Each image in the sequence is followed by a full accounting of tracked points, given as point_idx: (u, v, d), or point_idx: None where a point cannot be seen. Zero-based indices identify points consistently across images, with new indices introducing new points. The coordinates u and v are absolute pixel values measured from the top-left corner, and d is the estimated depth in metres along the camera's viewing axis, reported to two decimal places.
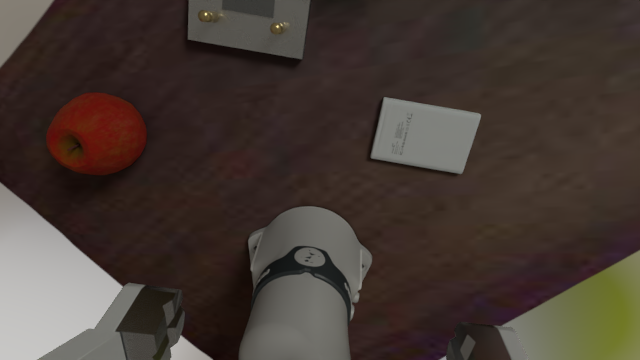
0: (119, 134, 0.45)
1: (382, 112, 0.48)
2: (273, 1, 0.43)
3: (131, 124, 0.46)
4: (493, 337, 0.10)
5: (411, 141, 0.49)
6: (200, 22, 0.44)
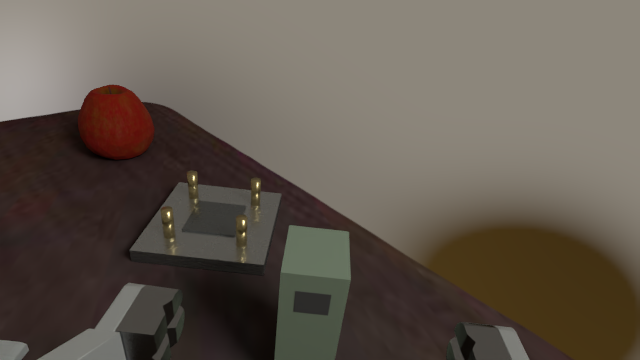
0: (109, 120, 0.53)
1: (1, 341, 0.29)
2: (197, 230, 0.42)
3: (116, 136, 0.54)
4: (493, 337, 0.10)
5: None
6: None
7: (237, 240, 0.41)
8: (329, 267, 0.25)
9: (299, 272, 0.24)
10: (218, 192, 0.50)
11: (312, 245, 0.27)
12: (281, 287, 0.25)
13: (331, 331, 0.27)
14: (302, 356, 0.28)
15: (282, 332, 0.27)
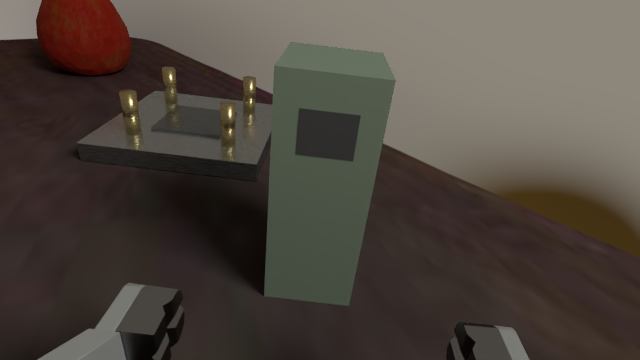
0: (72, 20, 0.43)
1: None
2: (171, 129, 0.32)
3: (81, 41, 0.44)
4: (493, 337, 0.10)
5: None
6: None
7: (222, 137, 0.31)
8: (358, 69, 0.15)
9: (306, 69, 0.14)
10: (203, 101, 0.40)
11: (327, 55, 0.16)
12: (275, 100, 0.14)
13: (356, 194, 0.16)
14: (309, 244, 0.18)
15: (278, 198, 0.17)
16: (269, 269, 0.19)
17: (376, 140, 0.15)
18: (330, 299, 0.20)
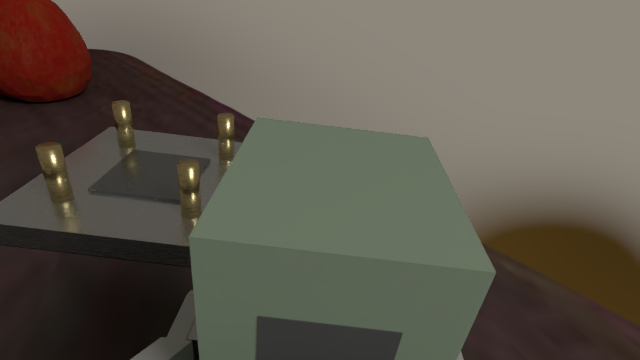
0: (11, 36, 0.35)
1: None
2: (115, 190, 0.24)
3: (23, 62, 0.36)
4: None
5: None
6: None
7: (182, 207, 0.22)
8: (395, 222, 0.06)
9: (272, 239, 0.06)
10: (169, 141, 0.31)
11: (324, 160, 0.08)
12: (201, 302, 0.06)
13: None
14: None
15: None
16: None
17: None
18: None
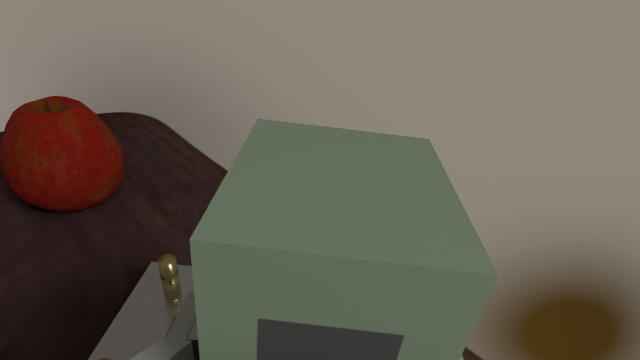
0: (43, 156, 0.33)
1: None
2: None
3: (57, 180, 0.34)
4: None
5: None
6: None
7: None
8: (396, 225, 0.06)
9: (273, 241, 0.06)
10: None
11: (325, 161, 0.08)
12: (202, 304, 0.06)
13: None
14: None
15: None
16: None
17: None
18: None
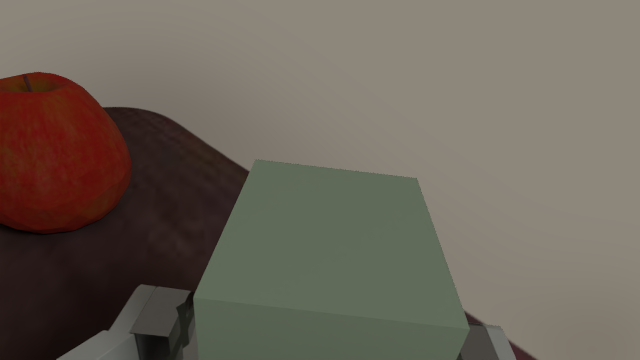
0: (19, 154, 0.23)
1: None
2: None
3: (38, 188, 0.24)
4: (480, 336, 0.10)
5: None
6: None
7: None
8: (381, 277, 0.07)
9: (268, 297, 0.06)
10: None
11: (317, 207, 0.09)
12: (204, 351, 0.07)
13: None
14: None
15: None
16: None
17: None
18: None
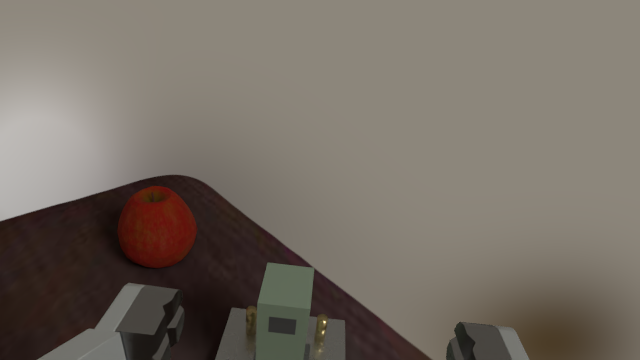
0: (153, 233, 0.48)
1: None
2: None
3: (160, 248, 0.49)
4: (493, 337, 0.10)
5: None
6: None
7: None
8: (295, 298, 0.33)
9: (271, 303, 0.32)
10: None
11: (284, 280, 0.34)
12: (258, 313, 0.32)
13: (298, 346, 0.34)
14: None
15: (261, 347, 0.35)
16: None
17: (304, 328, 0.33)
18: None
